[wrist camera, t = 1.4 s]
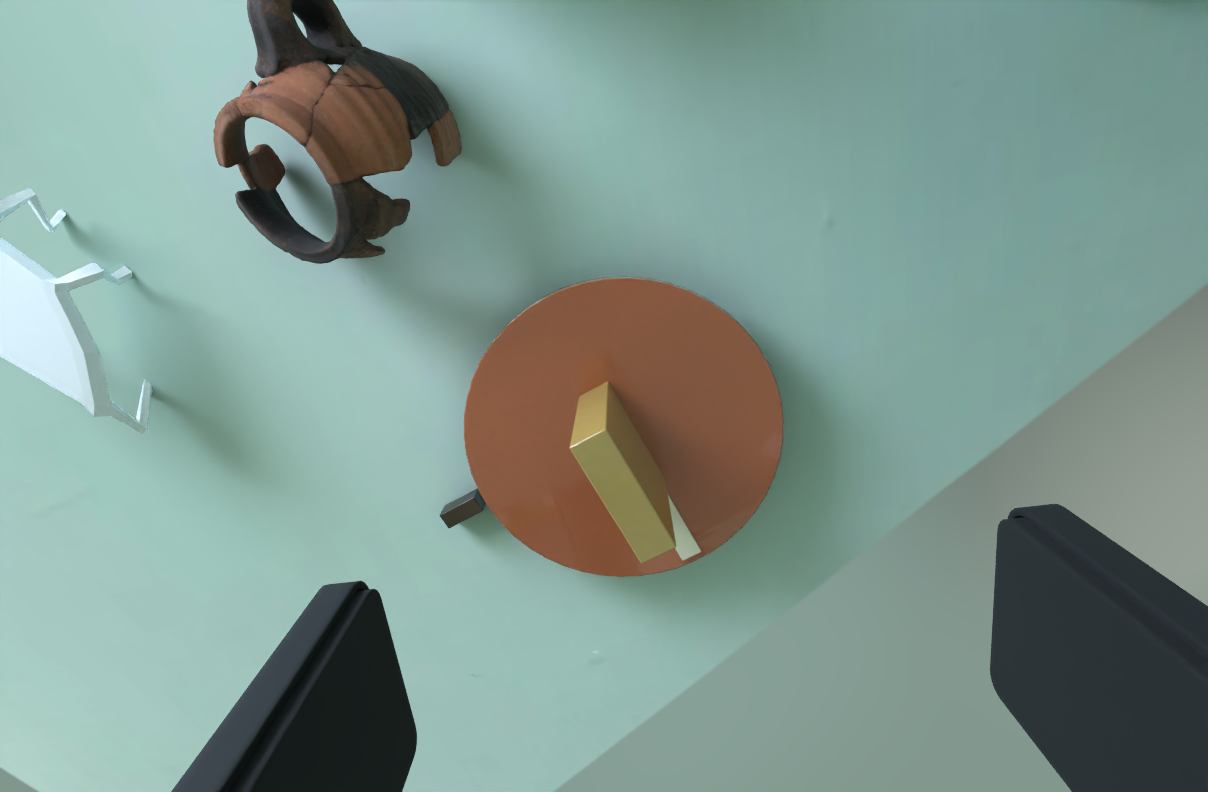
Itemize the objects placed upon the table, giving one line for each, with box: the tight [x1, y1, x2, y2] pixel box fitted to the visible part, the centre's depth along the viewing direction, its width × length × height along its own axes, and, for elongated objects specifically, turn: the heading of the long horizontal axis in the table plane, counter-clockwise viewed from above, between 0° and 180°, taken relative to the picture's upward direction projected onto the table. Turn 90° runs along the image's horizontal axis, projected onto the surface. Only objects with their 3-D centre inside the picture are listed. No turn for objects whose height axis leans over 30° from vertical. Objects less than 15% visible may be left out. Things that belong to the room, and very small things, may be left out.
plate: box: [464, 276, 783, 577], centre depth 32 cm, size 17×17×8 cm
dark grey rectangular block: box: [440, 489, 486, 528], centre depth 37 cm, size 17×10×2 cm, turn 119°
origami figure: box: [0, 188, 153, 433], centre depth 34 cm, size 12×8×5 cm
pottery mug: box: [214, 0, 461, 264], centre depth 30 cm, size 12×10×8 cm
